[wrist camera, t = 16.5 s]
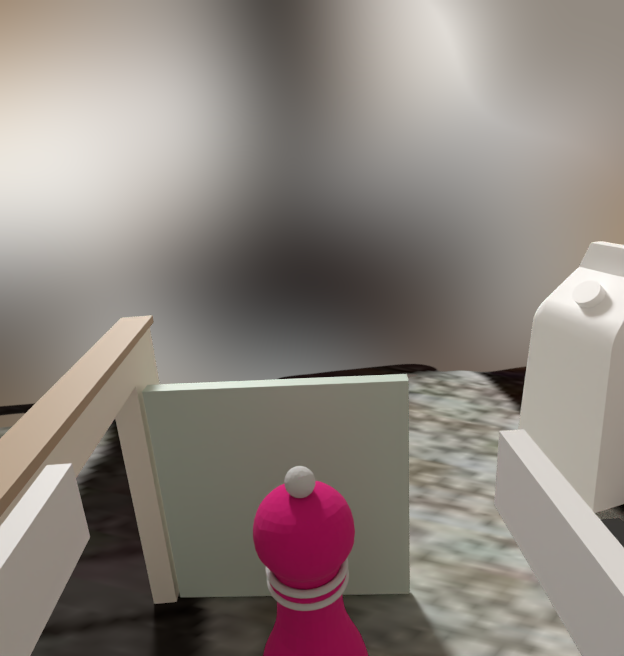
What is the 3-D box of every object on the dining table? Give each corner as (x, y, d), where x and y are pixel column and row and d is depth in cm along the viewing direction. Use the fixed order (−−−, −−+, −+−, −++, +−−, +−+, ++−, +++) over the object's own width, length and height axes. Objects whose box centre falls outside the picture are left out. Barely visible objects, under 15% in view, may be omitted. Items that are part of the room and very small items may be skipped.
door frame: (-25, 1183, 20) (-309, 747, 12) (166, 552, 52) (121, 317, 44) (43, 1176, 20) (-196, 736, 12) (192, 550, 52) (152, 315, 44)
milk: (677, 486, 56) (723, 248, 48) (592, 513, 53) (625, 263, 45) (589, 434, 67) (614, 232, 59) (514, 454, 64) (529, 243, 56)
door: (409, 593, 45) (408, 380, 38) (180, 597, 46) (141, 391, 39) (405, 570, 47) (404, 366, 41) (188, 574, 48) (153, 377, 42)
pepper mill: (307, 651, 41) (287, 425, 34) (391, 701, 37) (385, 454, 30) (245, 734, 35) (207, 482, 29) (335, 804, 31) (314, 529, 25)
